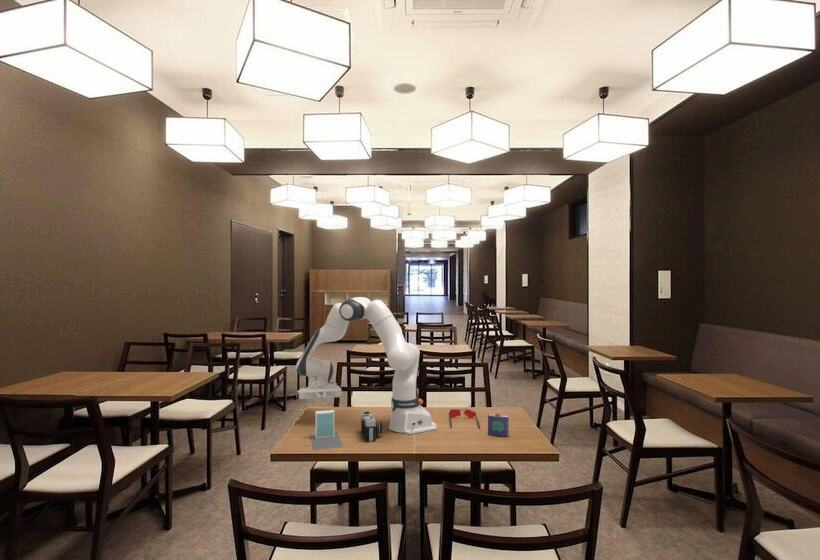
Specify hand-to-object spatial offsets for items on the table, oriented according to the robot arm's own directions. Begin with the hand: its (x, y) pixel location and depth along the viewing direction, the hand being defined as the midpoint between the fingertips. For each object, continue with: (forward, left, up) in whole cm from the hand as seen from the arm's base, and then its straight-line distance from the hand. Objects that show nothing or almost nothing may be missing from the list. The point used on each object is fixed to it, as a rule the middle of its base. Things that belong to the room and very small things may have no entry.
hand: (321, 397), depth 202 cm
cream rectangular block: (0, +12, -14) cm, 19 cm away
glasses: (-67, +10, -15) cm, 70 cm away
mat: (0, +17, -14) cm, 23 cm away
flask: (-75, +30, -15) cm, 82 cm away
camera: (-20, +17, -15) cm, 31 cm away
